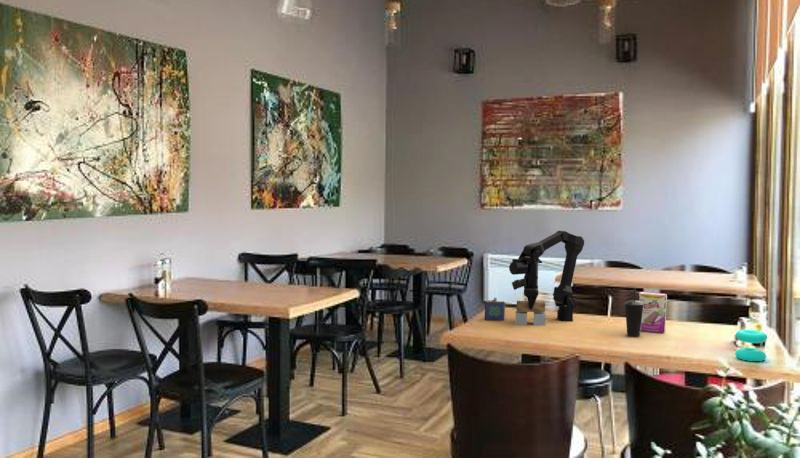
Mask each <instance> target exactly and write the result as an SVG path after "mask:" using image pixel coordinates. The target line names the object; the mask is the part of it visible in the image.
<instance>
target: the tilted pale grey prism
mask: <svg viewBox="0 0 800 458" xmlns="http://www.w3.org/2000/svg"><path fill="white" fill-rule="evenodd" d="M514 321H515V322H514V325H517V324H521V326H524V325H525V326H527V325H528V312H517V310H516V311H515V320H514Z"/></svg>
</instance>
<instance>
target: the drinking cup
mask: <svg viewBox="0 0 800 458" xmlns="http://www.w3.org/2000/svg"><path fill="white" fill-rule="evenodd" d="M636 292H637V291H636V287H633V299H631V300H628V301H625V302H624V308H625V319H626V321H625V323H626V324H625V325H626V336H627V337H630V338H631V337H632V338H638V337H640V333H641V331H640V328H641V320H642V312H643V305H644V303H642V302H640V301H639V300H636Z"/></svg>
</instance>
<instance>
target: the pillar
mask: <svg viewBox="0 0 800 458" xmlns="http://www.w3.org/2000/svg"><path fill="white" fill-rule="evenodd" d="M533 323H534V325H533V326H538V325H543V326H542V327H545V324H546V311H545V312H533Z"/></svg>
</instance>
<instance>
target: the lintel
mask: <svg viewBox="0 0 800 458" xmlns="http://www.w3.org/2000/svg"><path fill="white" fill-rule="evenodd" d="M516 311H517V312H527V313H534V312H545V313H546V303H545V301H540V300H536V301H535V303H534V306H533V308H532V309H529V304H528V300H516Z"/></svg>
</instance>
